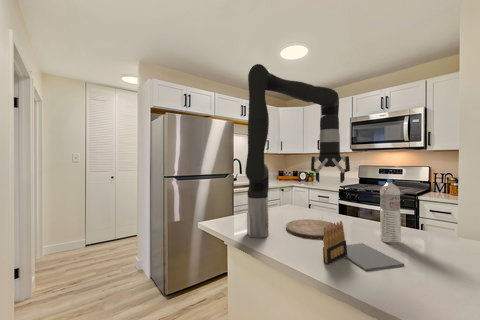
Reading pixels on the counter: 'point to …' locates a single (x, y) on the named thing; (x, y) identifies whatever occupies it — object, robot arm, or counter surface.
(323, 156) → the robot arm
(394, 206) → the water bottle
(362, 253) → the slate mat
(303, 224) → the trivet
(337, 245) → the ammunition clip
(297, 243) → the counter surface
